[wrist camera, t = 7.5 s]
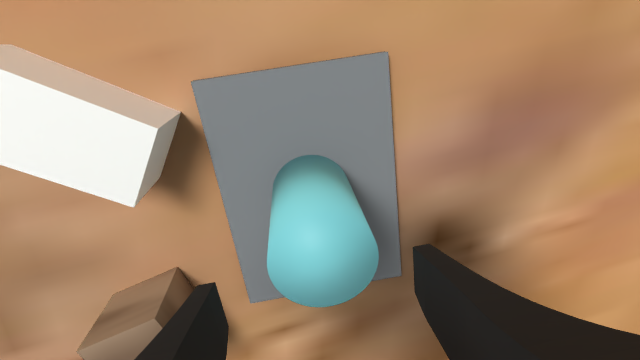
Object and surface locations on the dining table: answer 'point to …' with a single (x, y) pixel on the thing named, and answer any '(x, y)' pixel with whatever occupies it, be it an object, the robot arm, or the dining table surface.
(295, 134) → the mat
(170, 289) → the walnut cube
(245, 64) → the dining table surface
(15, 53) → the offwhite brick
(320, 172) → the teal capsule
